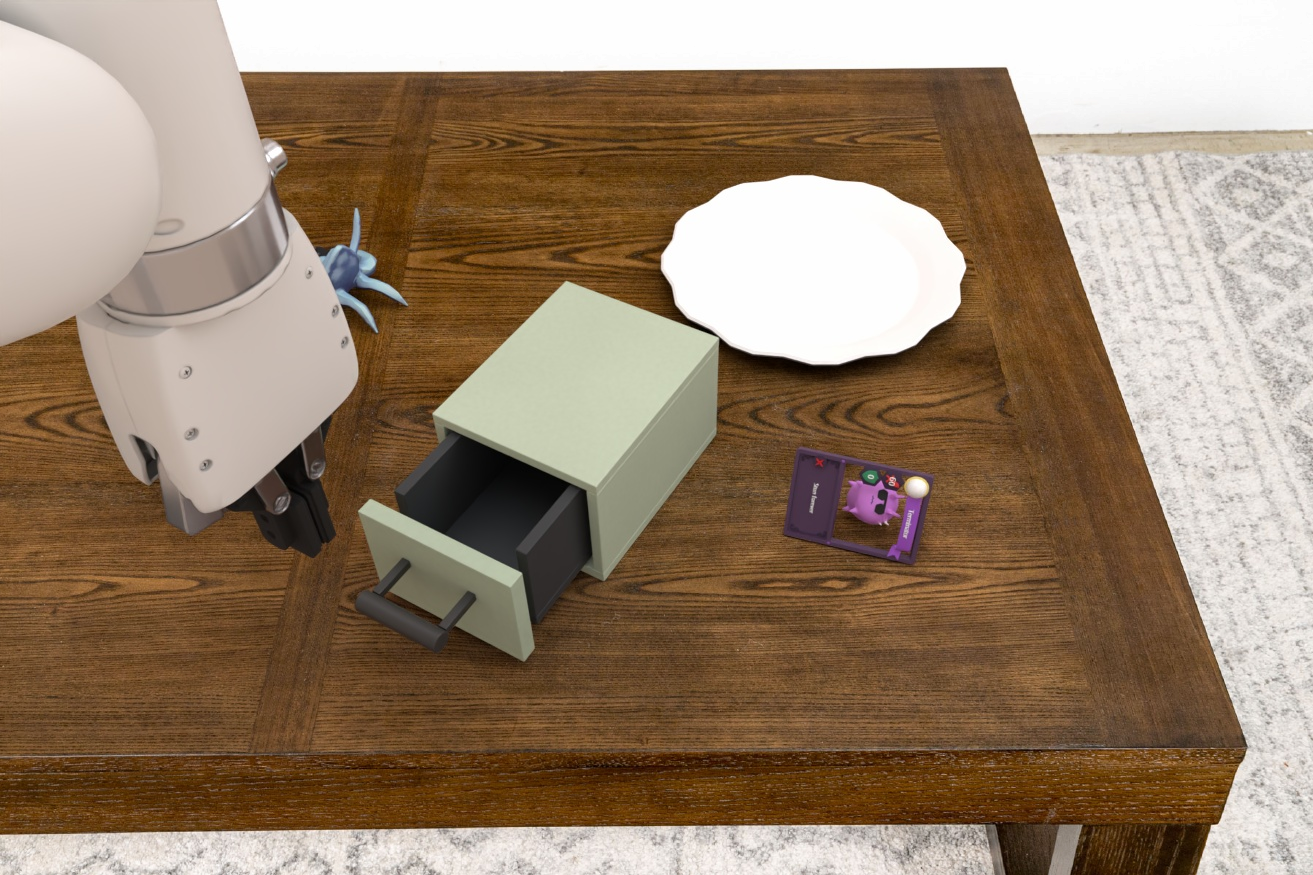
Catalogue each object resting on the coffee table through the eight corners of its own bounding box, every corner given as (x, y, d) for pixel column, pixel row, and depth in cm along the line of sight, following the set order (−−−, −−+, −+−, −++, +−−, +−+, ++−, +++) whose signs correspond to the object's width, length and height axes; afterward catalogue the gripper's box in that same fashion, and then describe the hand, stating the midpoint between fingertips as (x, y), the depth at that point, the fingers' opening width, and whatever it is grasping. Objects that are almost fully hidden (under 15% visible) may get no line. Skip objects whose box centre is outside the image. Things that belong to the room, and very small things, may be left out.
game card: (794, 453, 75) (933, 483, 73) (808, 420, 80) (940, 447, 78) (780, 539, 79) (913, 570, 77) (795, 503, 83) (920, 532, 81)
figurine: (376, 353, 95) (336, 291, 88) (264, 323, 99) (219, 262, 93) (433, 269, 99) (399, 203, 93) (323, 244, 103) (284, 180, 97)
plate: (704, 176, 109) (704, 158, 108) (973, 214, 104) (977, 197, 103) (627, 348, 93) (626, 330, 91) (943, 404, 88) (947, 386, 86)
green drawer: (482, 715, 69) (464, 642, 64) (337, 635, 73) (308, 560, 68) (644, 506, 80) (641, 428, 75) (510, 447, 84) (498, 368, 79)
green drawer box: (604, 581, 77) (596, 486, 70) (453, 509, 81) (431, 413, 75) (716, 434, 86) (719, 337, 79) (575, 376, 91) (566, 280, 84)
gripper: (250, 112, 49) (345, 414, 62) (-56, 315, 40) (131, 615, 54) (388, 160, 46) (456, 465, 60) (91, 389, 38) (249, 685, 51)
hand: (302, 535), depth 57 cm, fingers closed
